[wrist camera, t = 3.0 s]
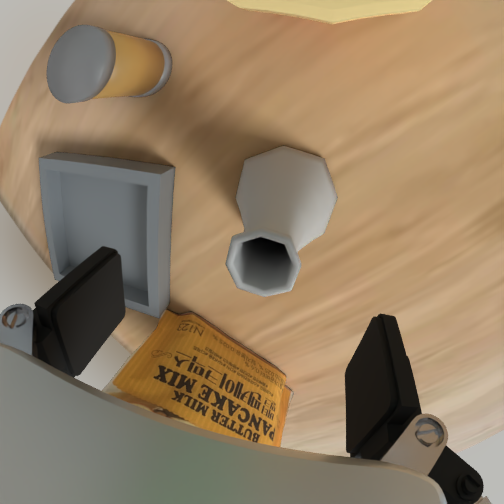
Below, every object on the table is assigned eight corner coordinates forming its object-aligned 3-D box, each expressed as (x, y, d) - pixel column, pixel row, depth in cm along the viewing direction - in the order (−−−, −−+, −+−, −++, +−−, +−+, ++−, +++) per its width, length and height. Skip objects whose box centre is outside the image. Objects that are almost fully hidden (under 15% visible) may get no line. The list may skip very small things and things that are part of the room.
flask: (337, 145, 19) (355, 181, 10) (335, 242, 22) (342, 335, 14) (232, 147, 21) (168, 184, 12) (240, 240, 24) (195, 324, 15)
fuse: (124, 42, 18) (52, 32, 11) (176, 39, 17) (111, 19, 10) (117, 96, 20) (44, 104, 13) (167, 98, 20) (99, 102, 13)
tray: (56, 151, 23) (39, 157, 21) (175, 167, 22) (160, 174, 20) (67, 268, 30) (54, 279, 28) (169, 302, 28) (159, 318, 26)
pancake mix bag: (277, 410, 33) (222, 625, 9) (139, 322, 31) (-1, 542, 6) (317, 388, 30) (272, 642, 6) (164, 284, 27) (-14, 558, 3)
